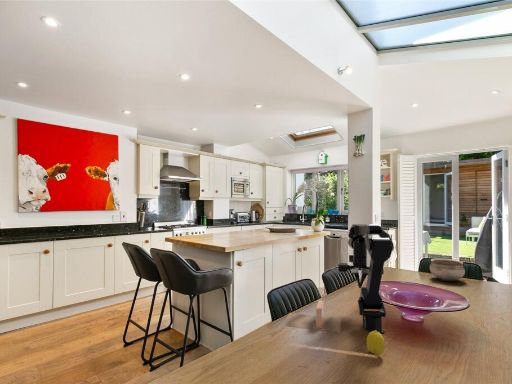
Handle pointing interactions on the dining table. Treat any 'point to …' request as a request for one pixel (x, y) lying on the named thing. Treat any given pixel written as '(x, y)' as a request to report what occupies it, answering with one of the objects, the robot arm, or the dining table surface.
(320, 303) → the tile
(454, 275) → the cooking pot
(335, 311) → the dining table surface
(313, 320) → the board
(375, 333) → the lemon
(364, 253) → the robot arm
